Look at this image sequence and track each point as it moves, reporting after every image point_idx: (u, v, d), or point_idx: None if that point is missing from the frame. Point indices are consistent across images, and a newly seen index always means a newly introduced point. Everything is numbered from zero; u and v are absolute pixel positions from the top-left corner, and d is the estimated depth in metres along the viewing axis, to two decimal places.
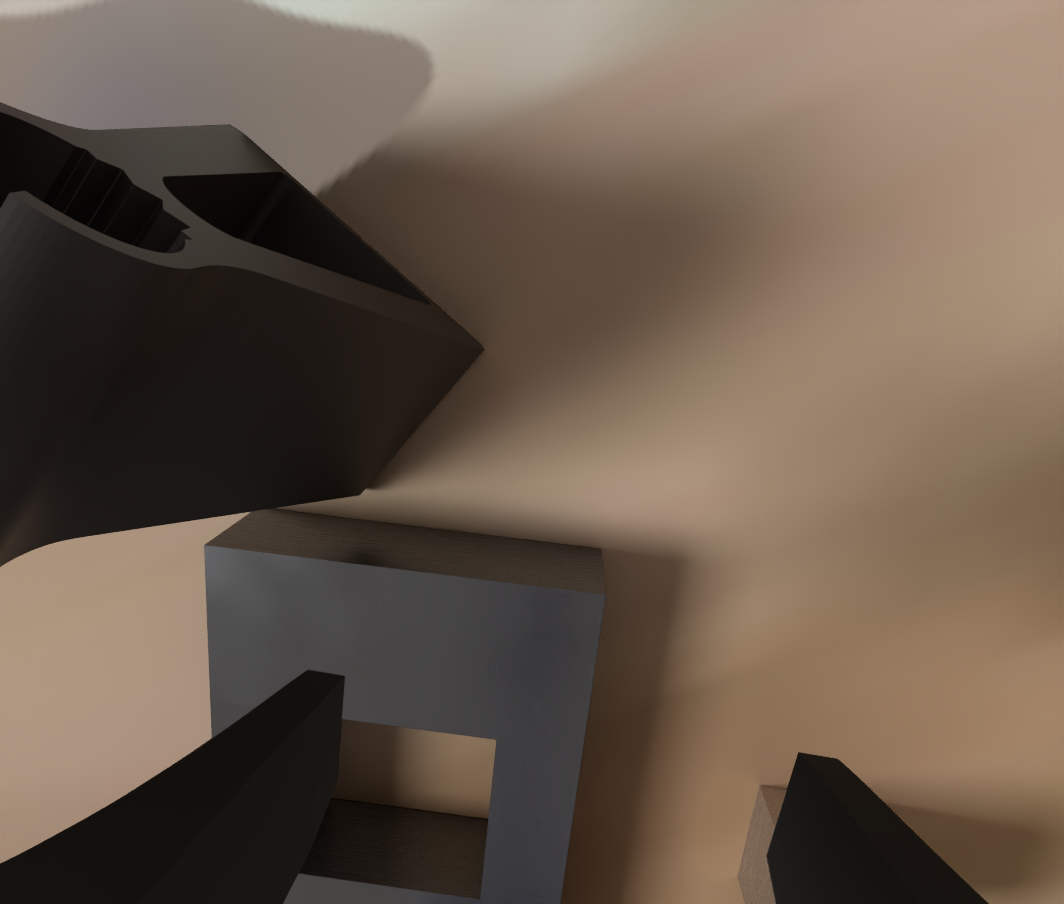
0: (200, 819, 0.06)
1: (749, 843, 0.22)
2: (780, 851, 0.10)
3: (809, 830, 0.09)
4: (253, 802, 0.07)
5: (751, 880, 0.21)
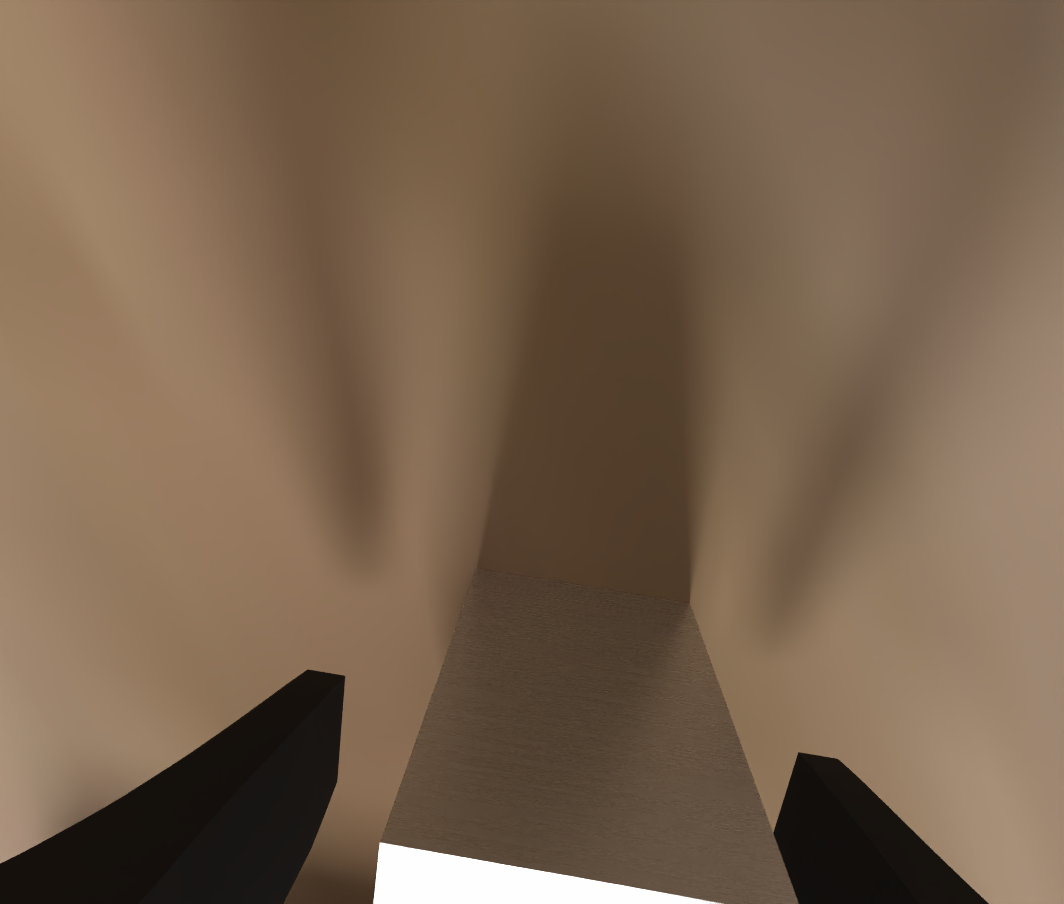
0: (200, 819, 0.06)
1: None
2: (780, 851, 0.10)
3: (809, 830, 0.09)
4: (253, 802, 0.07)
5: None
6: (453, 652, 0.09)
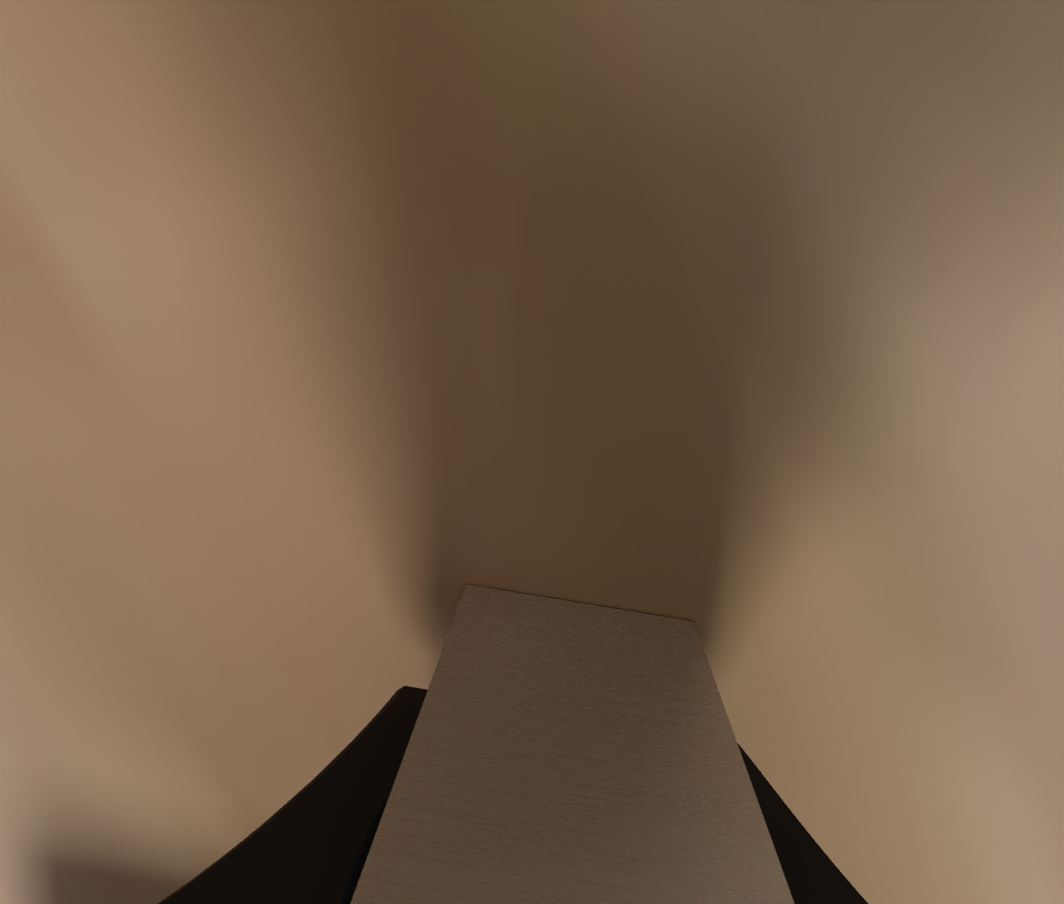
0: (350, 845, 0.06)
1: None
2: None
3: None
4: None
5: None
6: (437, 682, 0.08)
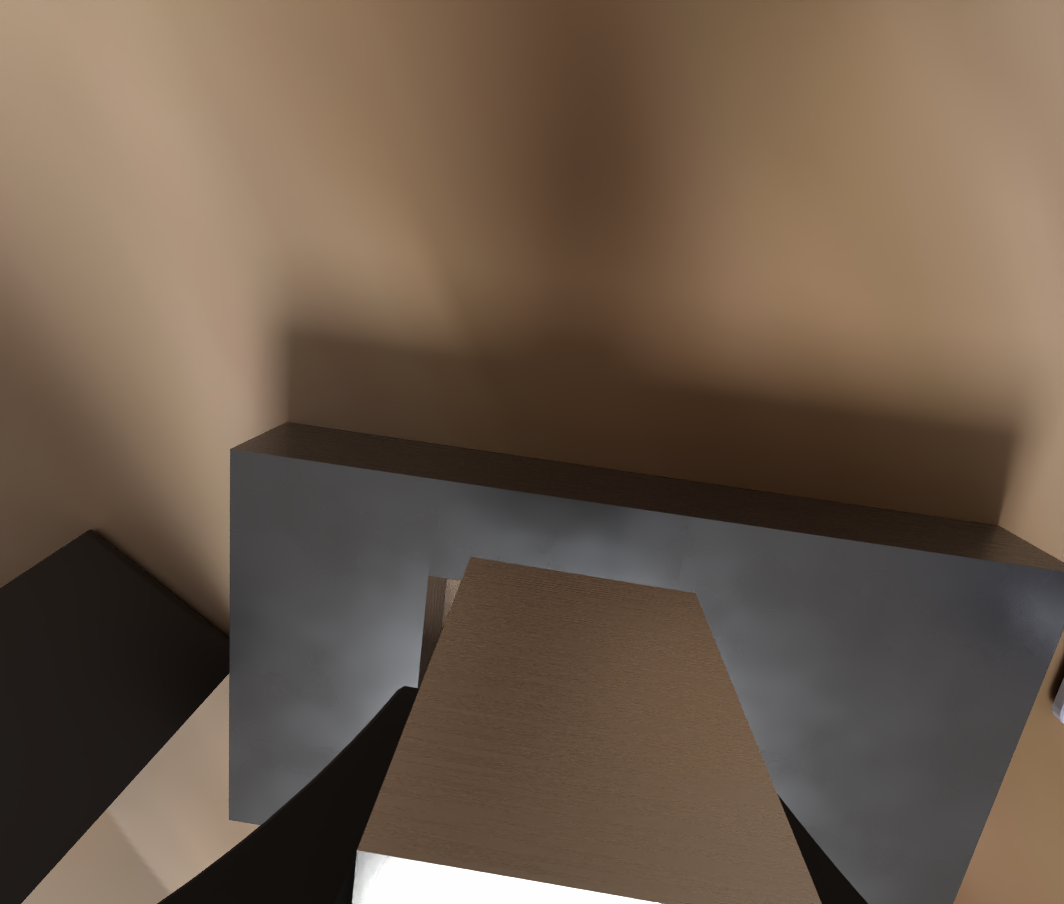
0: (350, 846, 0.06)
1: None
2: None
3: None
4: None
5: None
6: (444, 643, 0.08)
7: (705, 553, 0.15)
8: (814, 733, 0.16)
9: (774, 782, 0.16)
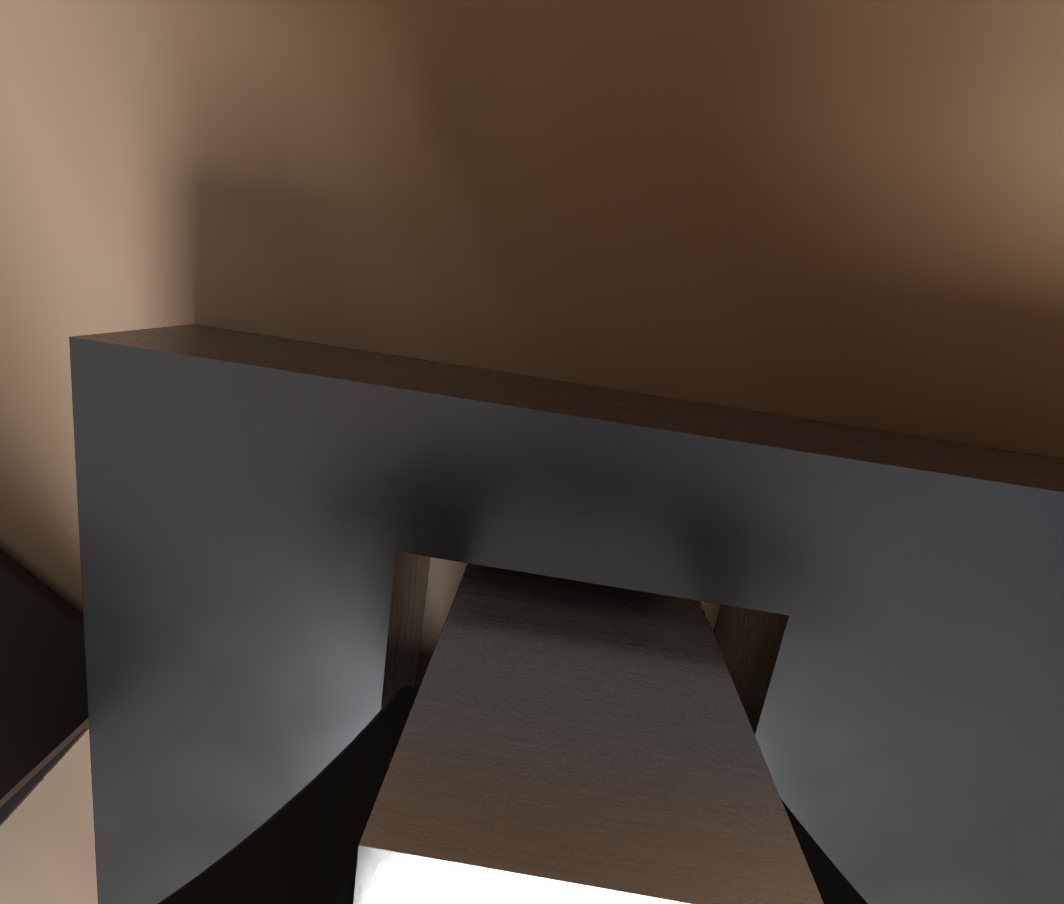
0: (350, 846, 0.06)
1: None
2: None
3: None
4: None
5: None
6: (444, 640, 0.08)
7: (852, 518, 0.09)
8: (1004, 809, 0.10)
9: (933, 882, 0.10)
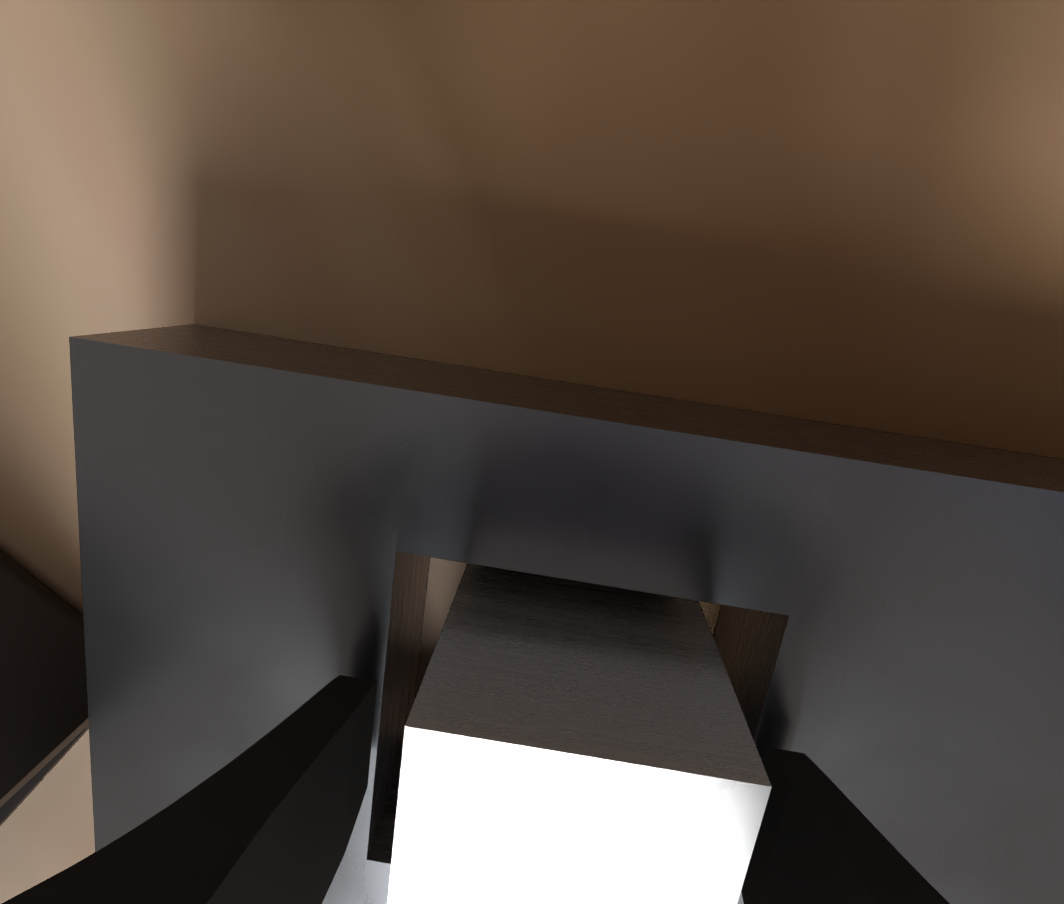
0: (249, 828, 0.06)
1: None
2: None
3: (773, 824, 0.09)
4: (296, 810, 0.07)
5: None
6: (463, 589, 0.10)
7: (852, 518, 0.09)
8: (1004, 809, 0.10)
9: (934, 882, 0.10)
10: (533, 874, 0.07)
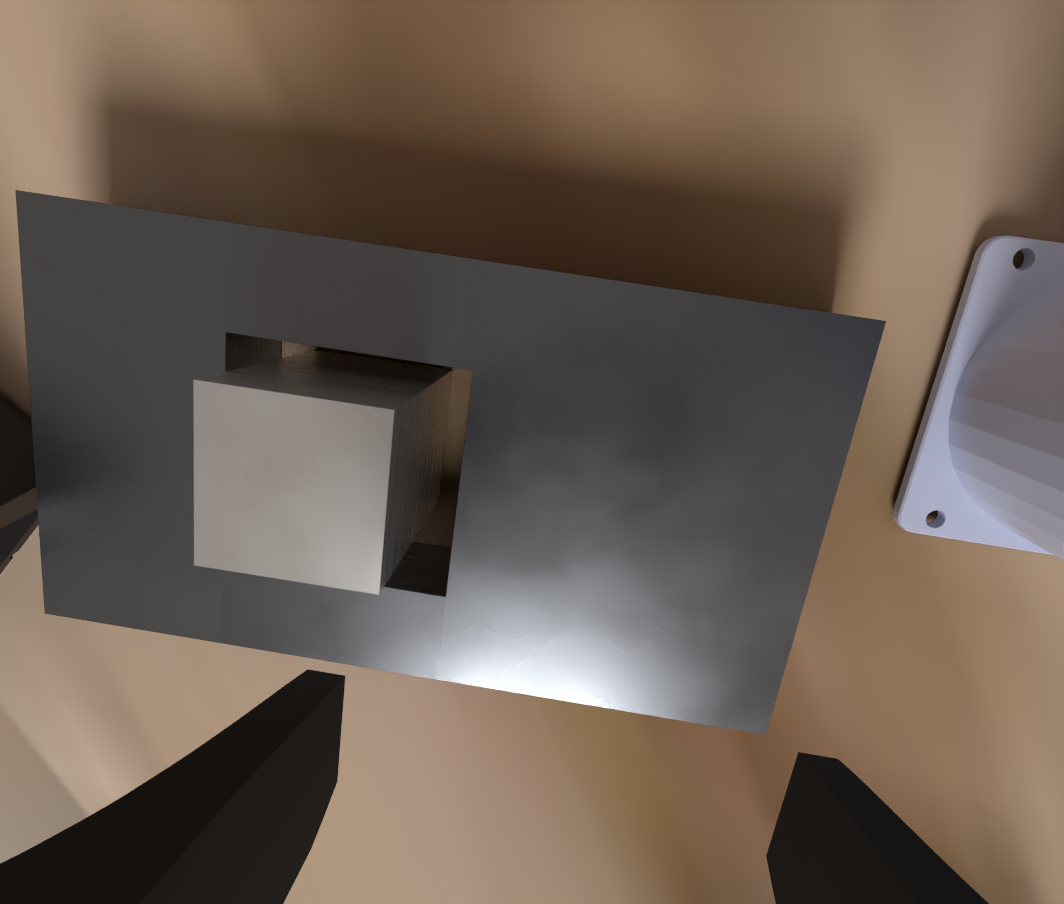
0: (200, 820, 0.06)
1: None
2: (780, 851, 0.10)
3: (809, 830, 0.09)
4: (253, 802, 0.07)
5: None
6: (274, 361, 0.15)
7: (502, 302, 0.14)
8: (625, 506, 0.15)
9: (590, 562, 0.16)
10: (273, 475, 0.13)
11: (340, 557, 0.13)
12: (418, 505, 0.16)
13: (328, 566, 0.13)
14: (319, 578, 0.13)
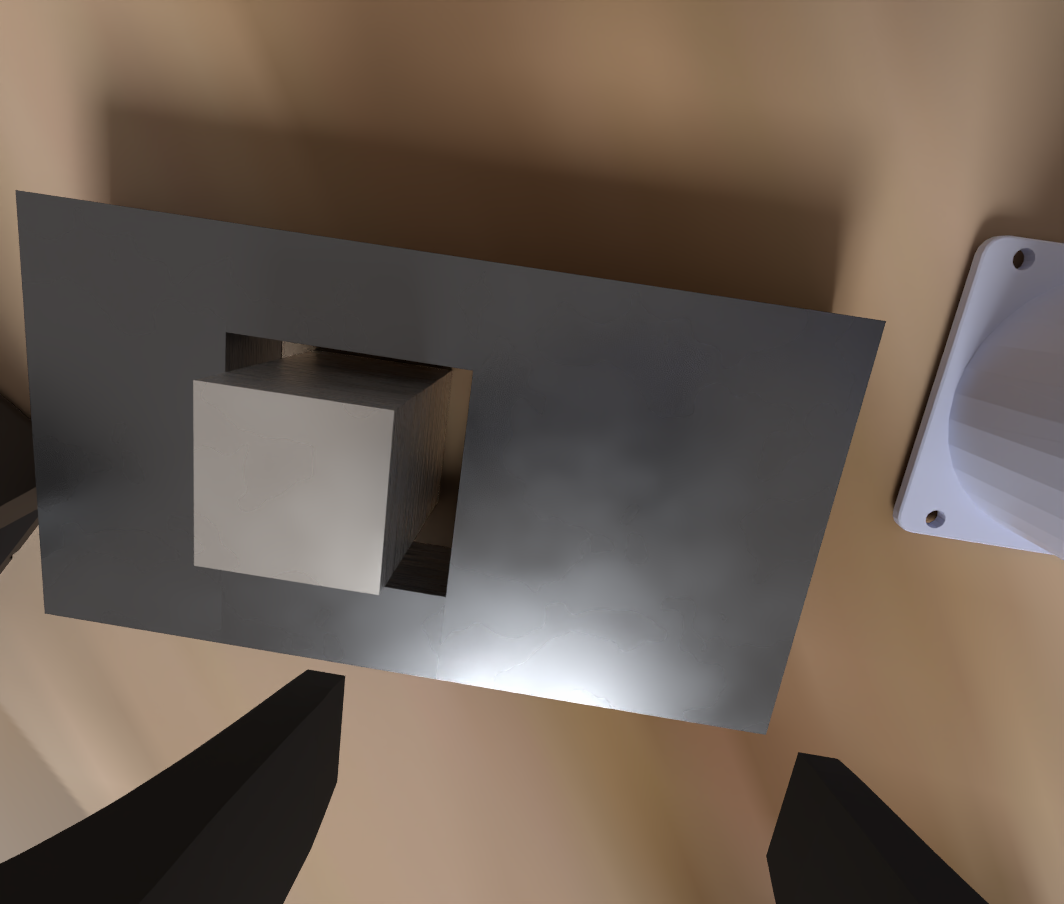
0: (200, 820, 0.06)
1: None
2: (780, 851, 0.10)
3: (809, 830, 0.09)
4: (253, 802, 0.07)
5: None
6: (274, 362, 0.15)
7: (502, 302, 0.14)
8: (625, 506, 0.15)
9: (590, 562, 0.16)
10: (273, 476, 0.13)
11: (340, 557, 0.13)
12: (418, 505, 0.16)
13: (328, 566, 0.13)
14: (319, 578, 0.13)
